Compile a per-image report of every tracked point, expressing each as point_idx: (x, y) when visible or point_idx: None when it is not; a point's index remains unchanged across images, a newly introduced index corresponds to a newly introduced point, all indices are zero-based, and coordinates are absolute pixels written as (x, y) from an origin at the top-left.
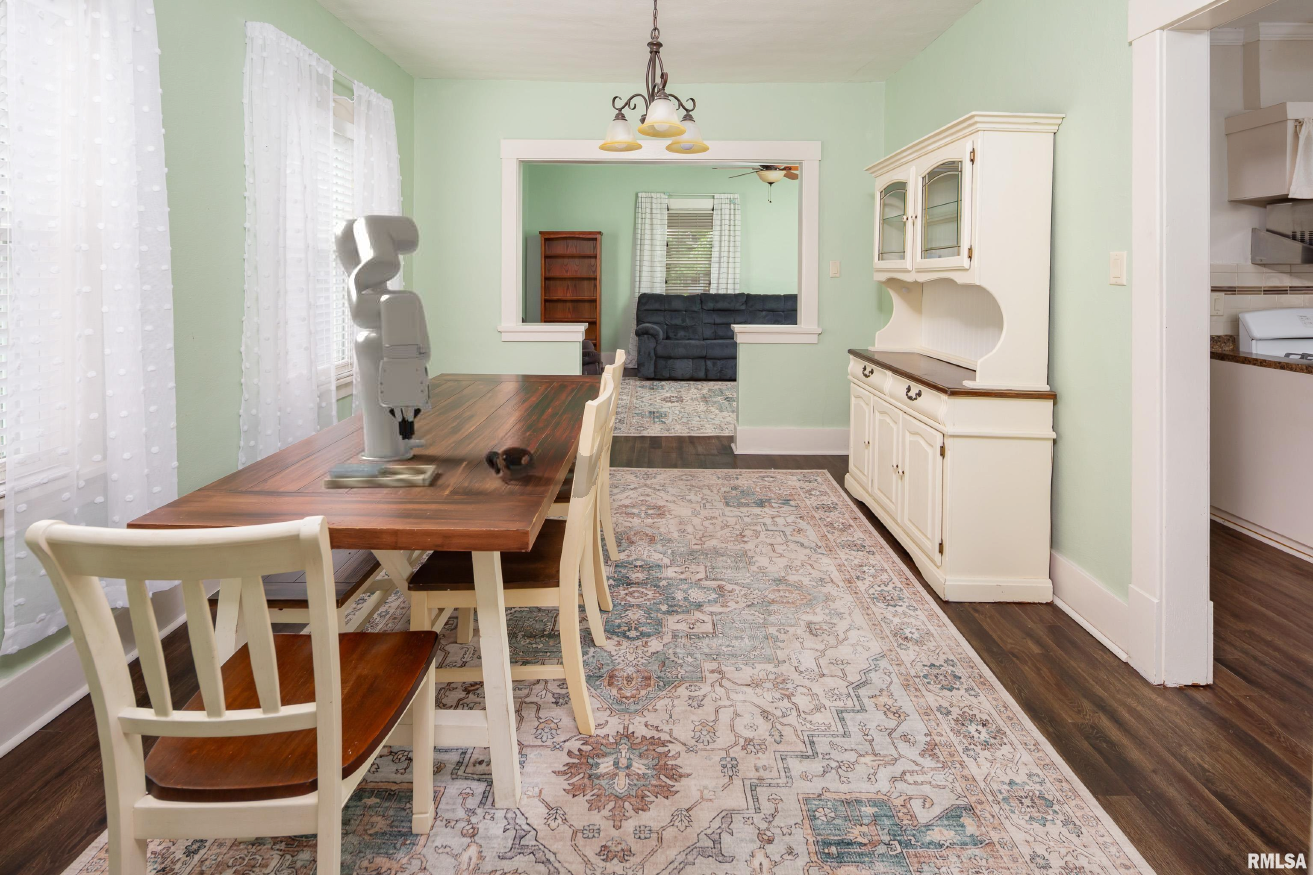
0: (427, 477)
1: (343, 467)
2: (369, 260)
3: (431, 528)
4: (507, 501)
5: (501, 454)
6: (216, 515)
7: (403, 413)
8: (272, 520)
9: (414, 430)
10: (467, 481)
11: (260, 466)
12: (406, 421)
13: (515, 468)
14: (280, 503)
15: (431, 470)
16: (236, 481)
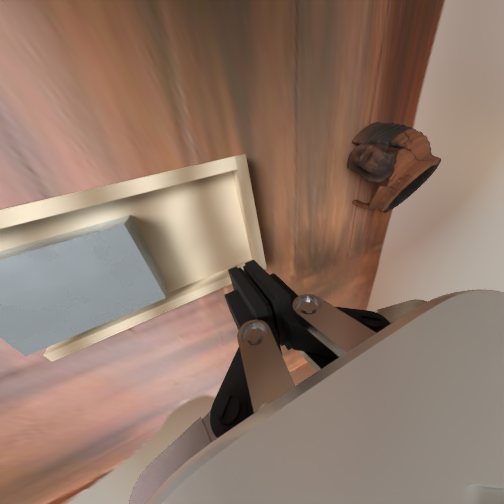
0: (265, 263)
1: (29, 315)
2: None
3: (305, 362)
4: (353, 277)
5: (397, 194)
6: (20, 489)
7: (278, 350)
8: (139, 440)
9: (279, 280)
10: (304, 200)
11: None
12: (289, 347)
13: (389, 210)
14: (63, 417)
15: (253, 209)
16: None
